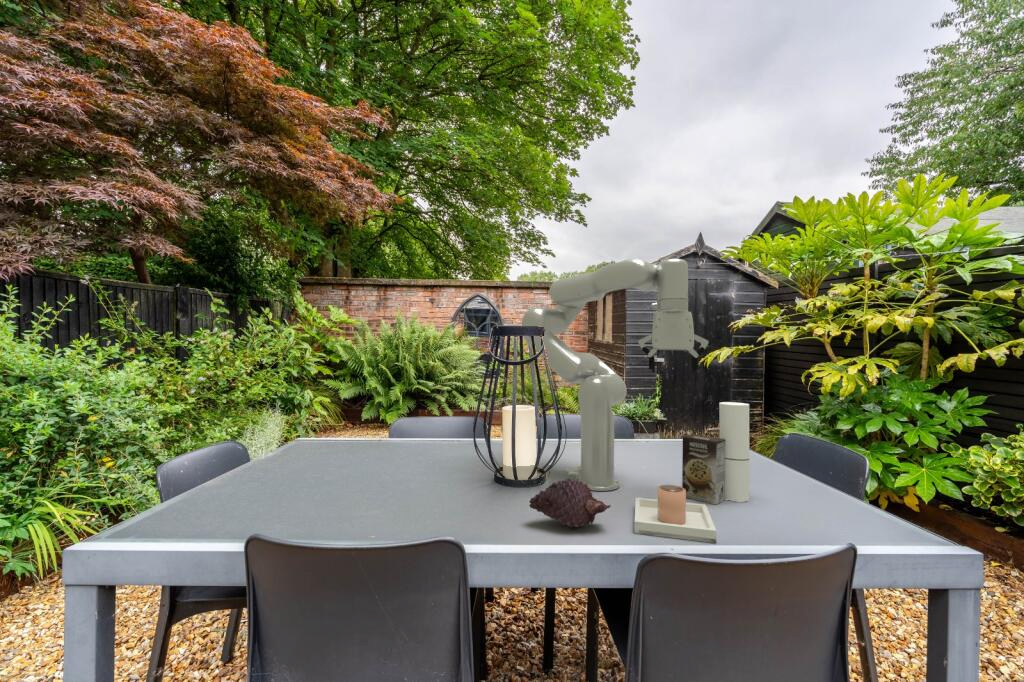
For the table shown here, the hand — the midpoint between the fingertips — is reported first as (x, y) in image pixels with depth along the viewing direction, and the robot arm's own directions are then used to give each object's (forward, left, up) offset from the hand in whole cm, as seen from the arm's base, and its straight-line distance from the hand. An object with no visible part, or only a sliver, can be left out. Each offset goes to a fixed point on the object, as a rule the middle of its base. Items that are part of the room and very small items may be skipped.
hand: (672, 372), depth 115 cm
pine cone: (-23, -24, -34) cm, 47 cm away
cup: (-1, -16, -32) cm, 36 cm away
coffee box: (+8, +5, -34) cm, 35 cm away
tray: (-1, -16, -33) cm, 37 cm away
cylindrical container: (+16, +8, -34) cm, 38 cm away
